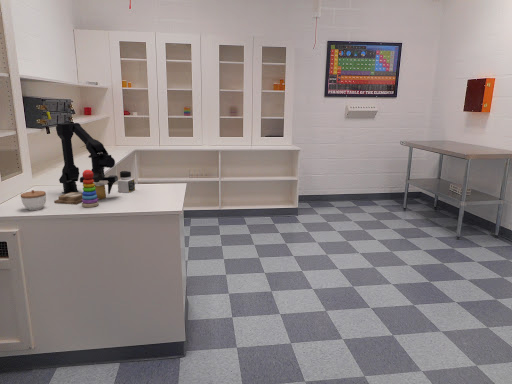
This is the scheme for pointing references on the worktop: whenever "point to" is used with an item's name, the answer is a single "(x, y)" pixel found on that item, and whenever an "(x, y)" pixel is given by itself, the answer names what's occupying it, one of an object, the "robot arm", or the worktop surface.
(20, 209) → the worktop surface
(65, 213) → the worktop surface
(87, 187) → the stacking toy
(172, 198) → the worktop surface
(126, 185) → the medicine bottle
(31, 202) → the lidded jar
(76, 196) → the walnut plinth
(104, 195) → the amber jar
